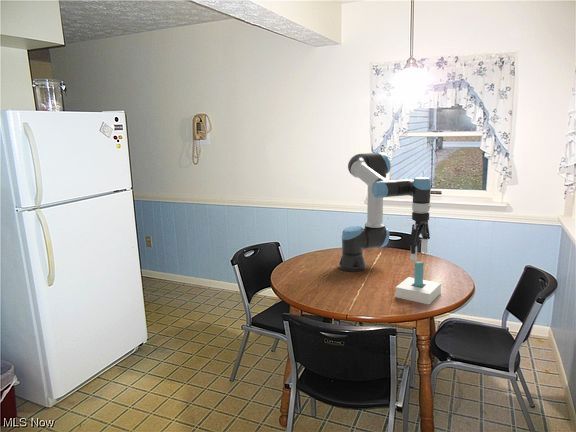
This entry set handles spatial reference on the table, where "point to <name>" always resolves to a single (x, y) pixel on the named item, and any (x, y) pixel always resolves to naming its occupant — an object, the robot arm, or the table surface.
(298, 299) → the table surface
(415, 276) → the peg
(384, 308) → the table surface
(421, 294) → the socket board
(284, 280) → the table surface
